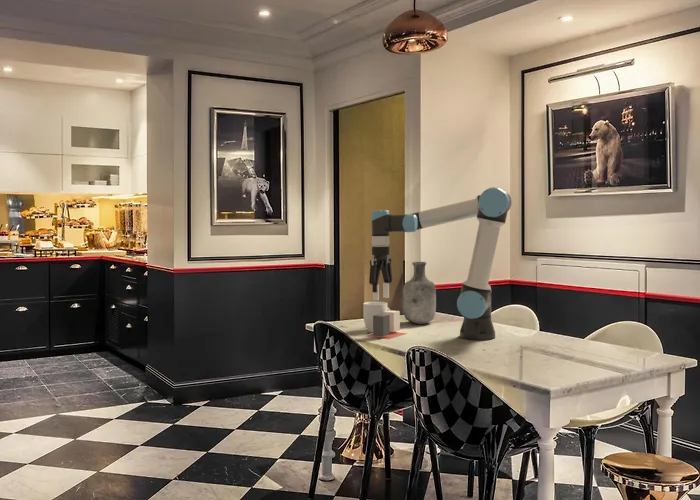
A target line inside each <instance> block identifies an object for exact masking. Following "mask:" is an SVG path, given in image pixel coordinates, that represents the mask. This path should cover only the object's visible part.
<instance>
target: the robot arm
mask: <svg viewBox="0 0 700 500" xmlns="http://www.w3.org/2000/svg"><path fill="white" fill-rule="evenodd" d="M511 207H512V197H511V195H510V194H509V192H508V191H506V190H505V189H503V188H501V187H492V186H491V187H488V188H486V189H485V190H483V192H482V193H481V194H479V195H477V196H475V198H472V199H469V200H468V199H467V200H462V201H460V202H456V203H451V204H448V205H443V206H442V205H441V206H438V207H434V208H430V209H425V210H422V211H418V212H414V213H412V212H411V213H408V214H407V213H406V214H391V213H390V210H388V209H376V210H375V209H373V211H372V212H371V221H370V222H371V245H372V247H371V255H372V256H373V259H371V260H369V265H370V267H369V278H368V281H369V282H368V283H369V285H371V286H372V300H373V301H379V300H380V285H379V281H380V280H379V279H380V274H382V278H383V282H382V298H383V299H389V298H390V284H391V283H393V273H392V259H391V258H388V256H389V255H390V233H415V232H416V231H417V230H422V229H427V228H430V227H435V226H439V225H443V224H448V223H453V222H457V221H462V220H466V219H472V218H475V217H476V219H477V221H478V227H477V232H476V237H475V242H474V247H473V251H472V255H471V260H470V265H469V269H468V275H467V279H465V280H464V281H462V284H461V289H460V294H459V296H458V298H457V299H456V300H457V301H456V308H457V310H458V312H459V313H460V314H461V315H462V316H463V321H462V324H461V327H460V330H459V338H461V339H464V340H465V339H466V340H474V341H475V340H476V341H477V340H478V341H480V340H481V341H484V340H485V341H486V340H493V339H495V338H496V331H495V327H494V325H493V322H492V321H493V320H492V292H493V291H492V287H491V285H490V284H489V280H490V277H491V276H490V275H491V272H492V271H491V270H492V266H493V262H494V259H495V254H496V250H497V249H496V248H497V244H498V239H499V234H500V229H501V227H502V226H503V225H505V224H506V221H507V216H508V212H509V210H510V209H511Z"/></svg>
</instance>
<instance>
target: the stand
mask: <svg viewBox="0 0 700 500" xmlns="http://www.w3.org/2000/svg"><path fill="white" fill-rule="evenodd" d="M384 314H385V315H390V335H387V336H386V337H384V338H381V339H384V340H390V339H394V338H397V337H401V336H404V335H407V334H408V333H407V332H399V331H400V330H401V317H400V316H401V312H400V310H392V309H390V310H389V311H388V310H387V311H385V312H384ZM365 338H373V339H374V338H376V339H378V338H377V336H375V335H373V334H370V335H366V336H365Z"/></svg>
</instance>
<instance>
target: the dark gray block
mask: <svg viewBox="0 0 700 500" xmlns="http://www.w3.org/2000/svg"><path fill="white" fill-rule="evenodd" d="M372 335H375V336H387V335H390V315H385V314H377V315H373V332H372Z"/></svg>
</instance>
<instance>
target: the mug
mask: <svg viewBox="0 0 700 500" xmlns="http://www.w3.org/2000/svg"><path fill="white" fill-rule="evenodd" d="M362 306H363V307H362V308H363V313H362V315H363V322H364V326H365V328H366V330H367V331H368V332H370V333H373V315H377V314H384V312H385V311H389V310H391V309H390V308H389V307H388V302H386V301H366V302H363V305H362Z"/></svg>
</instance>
